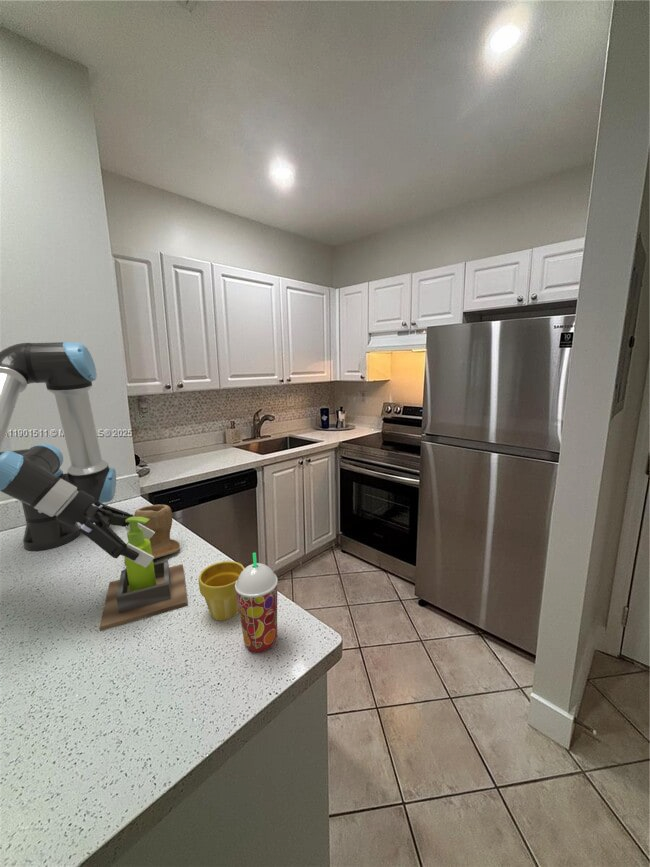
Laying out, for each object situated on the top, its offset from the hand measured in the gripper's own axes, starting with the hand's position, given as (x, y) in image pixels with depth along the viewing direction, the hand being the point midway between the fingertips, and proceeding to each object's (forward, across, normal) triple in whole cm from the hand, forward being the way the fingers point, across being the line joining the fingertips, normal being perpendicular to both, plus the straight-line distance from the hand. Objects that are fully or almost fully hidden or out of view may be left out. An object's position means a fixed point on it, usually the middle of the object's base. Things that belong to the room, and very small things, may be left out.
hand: (150, 548), depth 87 cm
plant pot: (+19, +15, +2) cm, 24 cm away
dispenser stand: (+7, 0, -10) cm, 12 cm away
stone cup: (+8, -21, -10) cm, 24 cm away
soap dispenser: (+6, 0, -10) cm, 12 cm away
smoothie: (+23, +28, +5) cm, 36 cm away
